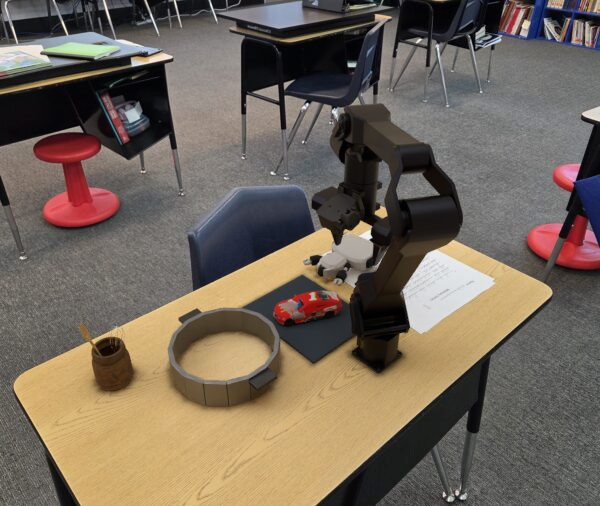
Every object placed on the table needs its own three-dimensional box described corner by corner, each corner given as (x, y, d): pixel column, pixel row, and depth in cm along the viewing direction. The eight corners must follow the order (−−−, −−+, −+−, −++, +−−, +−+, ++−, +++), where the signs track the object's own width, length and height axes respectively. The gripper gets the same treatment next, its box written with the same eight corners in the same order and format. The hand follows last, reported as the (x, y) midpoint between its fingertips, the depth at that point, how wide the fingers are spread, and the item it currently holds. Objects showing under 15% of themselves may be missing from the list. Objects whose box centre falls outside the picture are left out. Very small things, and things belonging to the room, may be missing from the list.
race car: (277, 329, 99) (276, 313, 97) (270, 311, 104) (269, 295, 102) (344, 317, 102) (345, 300, 100) (335, 299, 107) (336, 283, 105)
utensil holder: (132, 389, 88) (119, 333, 81) (92, 394, 87) (75, 338, 81) (135, 363, 93) (123, 308, 86) (97, 367, 92) (82, 312, 86)
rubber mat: (374, 321, 102) (374, 320, 102) (313, 363, 93) (313, 362, 92) (302, 275, 114) (302, 274, 114) (242, 308, 105) (241, 307, 105)
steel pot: (310, 373, 91) (310, 351, 88) (221, 435, 80) (218, 412, 78) (230, 310, 105) (228, 289, 102) (145, 355, 94) (141, 334, 92)
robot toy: (339, 298, 109) (389, 265, 117) (339, 280, 107) (389, 248, 114) (299, 271, 117) (348, 242, 125) (298, 254, 114) (348, 226, 122)
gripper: (288, 174, 93) (289, 250, 101) (371, 213, 81) (365, 296, 89) (334, 156, 99) (331, 229, 107) (417, 190, 87) (407, 269, 95)
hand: (356, 254), depth 100 cm, fingers open, 9 cm apart
